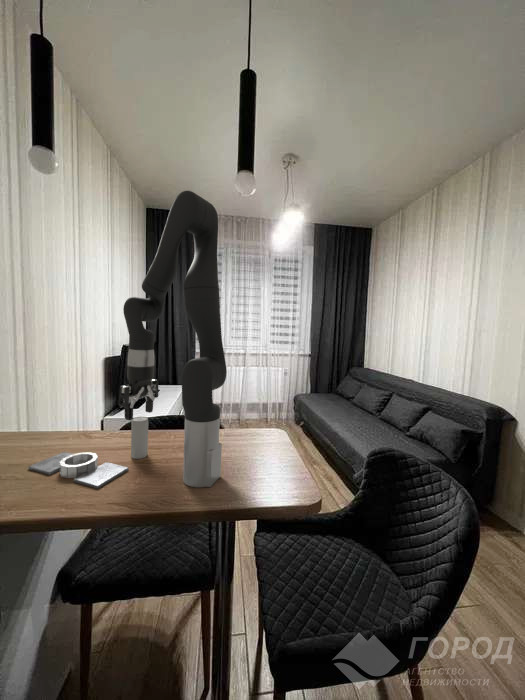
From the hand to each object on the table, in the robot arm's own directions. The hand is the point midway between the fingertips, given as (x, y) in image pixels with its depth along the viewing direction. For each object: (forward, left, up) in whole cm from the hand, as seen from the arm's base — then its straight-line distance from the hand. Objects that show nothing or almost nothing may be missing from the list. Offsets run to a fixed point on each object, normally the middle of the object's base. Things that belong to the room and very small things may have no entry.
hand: (139, 415), depth 86 cm
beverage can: (0, 0, -13) cm, 13 cm away
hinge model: (+9, +13, -13) cm, 20 cm away
